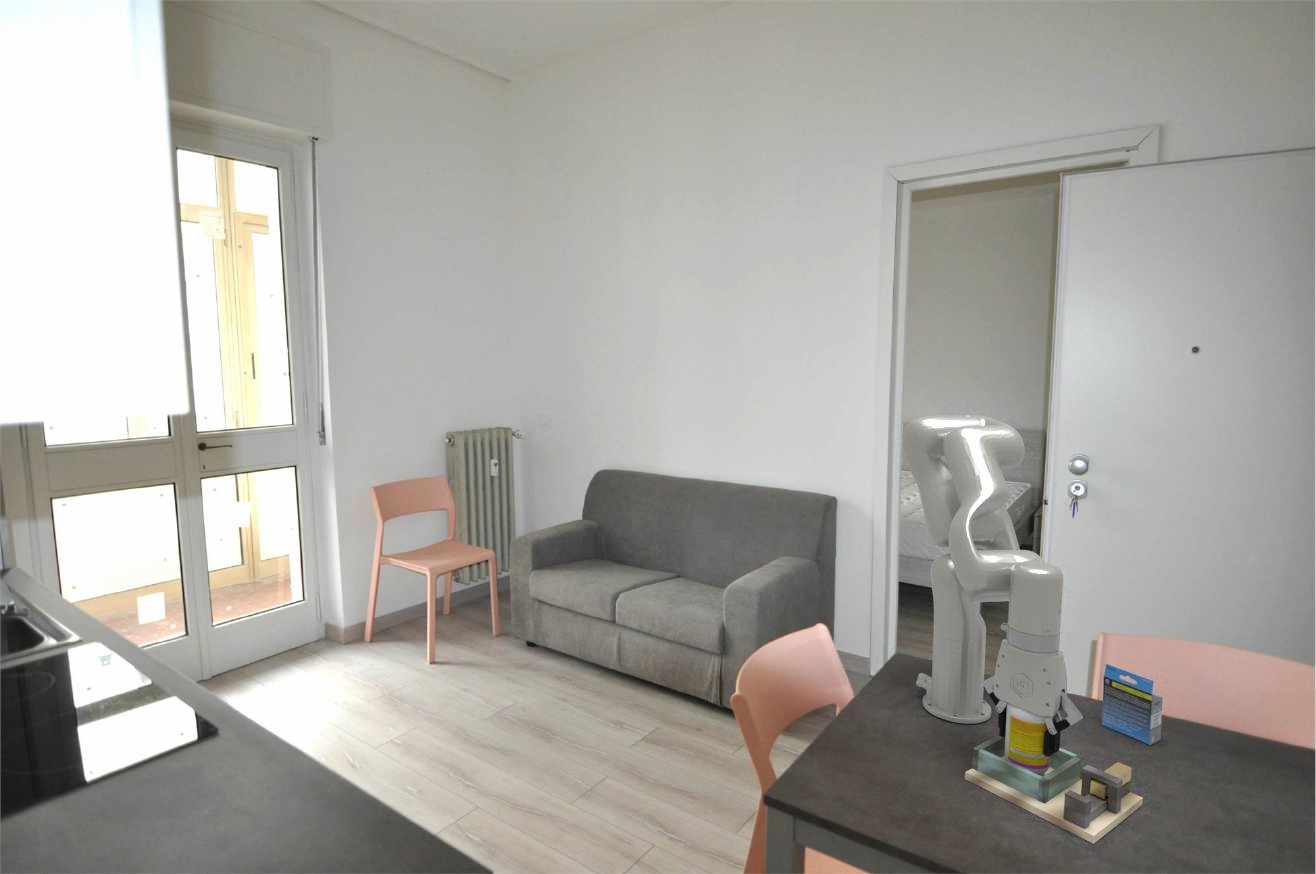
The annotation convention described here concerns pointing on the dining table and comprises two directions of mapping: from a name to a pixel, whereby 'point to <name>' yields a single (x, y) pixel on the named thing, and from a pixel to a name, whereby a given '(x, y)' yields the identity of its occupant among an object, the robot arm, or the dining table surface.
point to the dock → (1055, 790)
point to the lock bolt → (1115, 770)
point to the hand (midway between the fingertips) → (1027, 743)
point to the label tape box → (1131, 705)
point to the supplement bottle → (1025, 740)
